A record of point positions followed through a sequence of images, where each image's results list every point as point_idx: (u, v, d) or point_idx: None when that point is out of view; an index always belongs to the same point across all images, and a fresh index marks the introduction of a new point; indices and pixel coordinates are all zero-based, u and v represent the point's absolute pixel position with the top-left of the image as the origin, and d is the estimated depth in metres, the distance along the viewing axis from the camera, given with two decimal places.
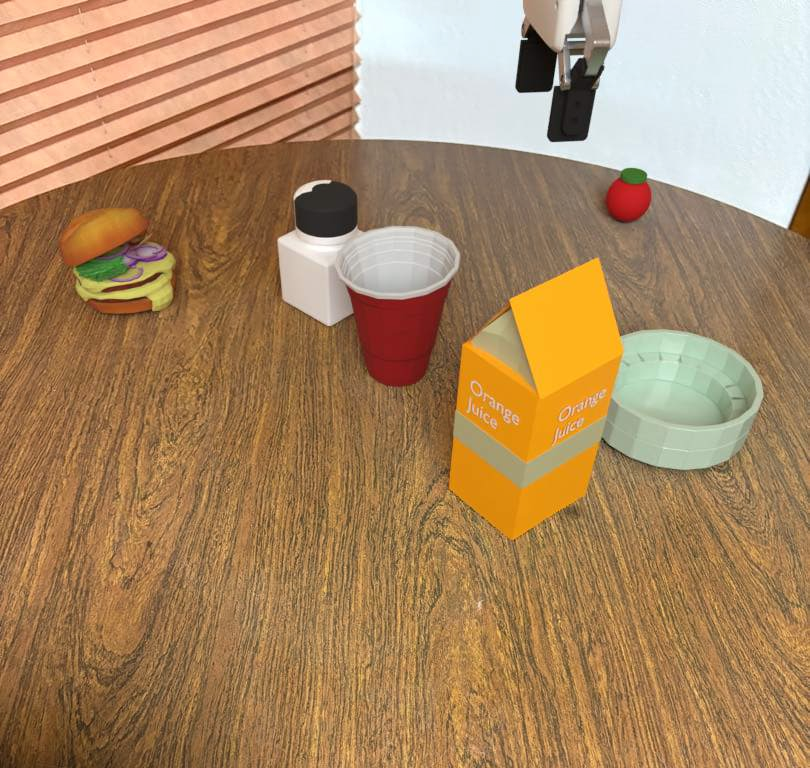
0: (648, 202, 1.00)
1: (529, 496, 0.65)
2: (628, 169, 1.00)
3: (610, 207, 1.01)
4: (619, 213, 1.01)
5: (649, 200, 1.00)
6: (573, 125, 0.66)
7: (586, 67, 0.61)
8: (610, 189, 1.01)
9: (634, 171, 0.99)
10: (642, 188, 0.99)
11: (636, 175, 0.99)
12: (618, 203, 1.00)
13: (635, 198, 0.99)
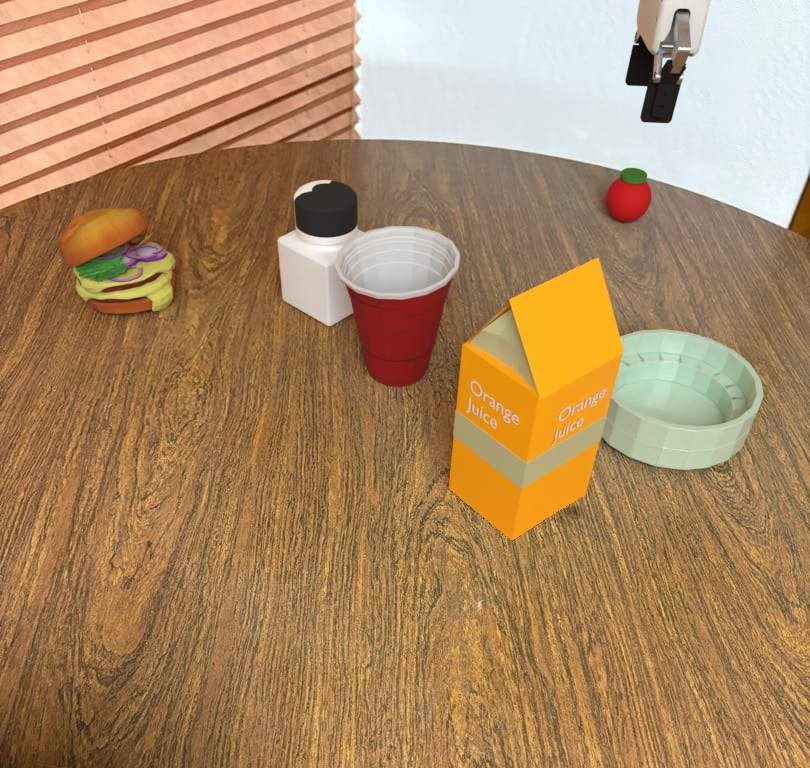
0: (648, 202, 1.00)
1: (529, 496, 0.65)
2: (628, 169, 1.00)
3: (610, 207, 1.01)
4: (619, 213, 1.01)
5: (649, 200, 1.00)
6: (660, 110, 0.88)
7: (672, 66, 0.83)
8: (610, 189, 1.01)
9: (634, 171, 0.99)
10: (642, 188, 0.99)
11: (636, 175, 0.99)
12: (618, 203, 1.00)
13: (635, 198, 0.99)
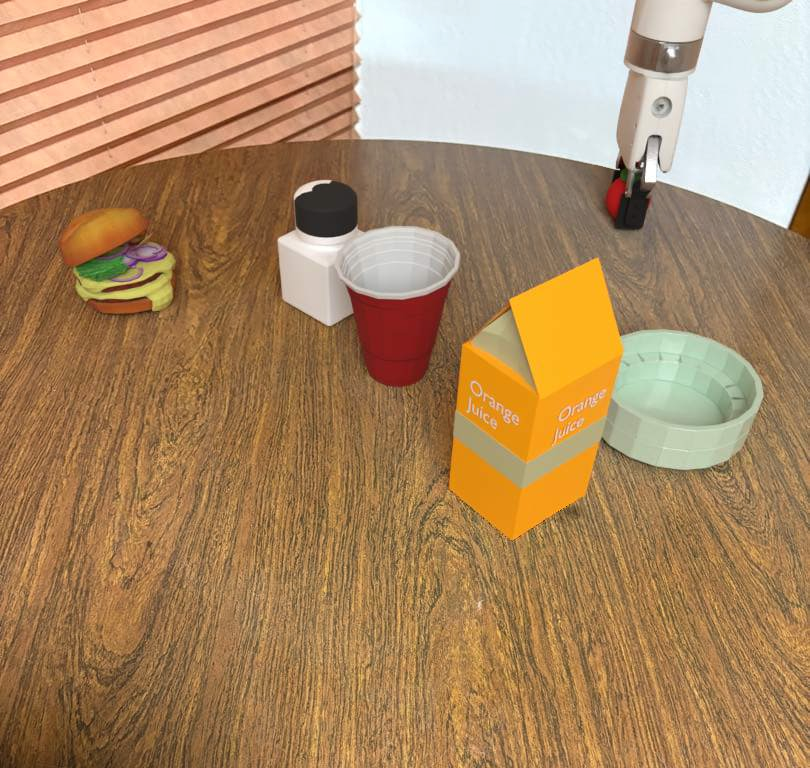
0: None
1: (529, 496, 0.65)
2: None
3: (610, 207, 1.01)
4: None
5: (649, 200, 1.00)
6: (632, 219, 0.99)
7: (640, 186, 0.94)
8: (610, 189, 1.01)
9: None
10: None
11: (636, 175, 0.99)
12: (618, 203, 1.00)
13: None
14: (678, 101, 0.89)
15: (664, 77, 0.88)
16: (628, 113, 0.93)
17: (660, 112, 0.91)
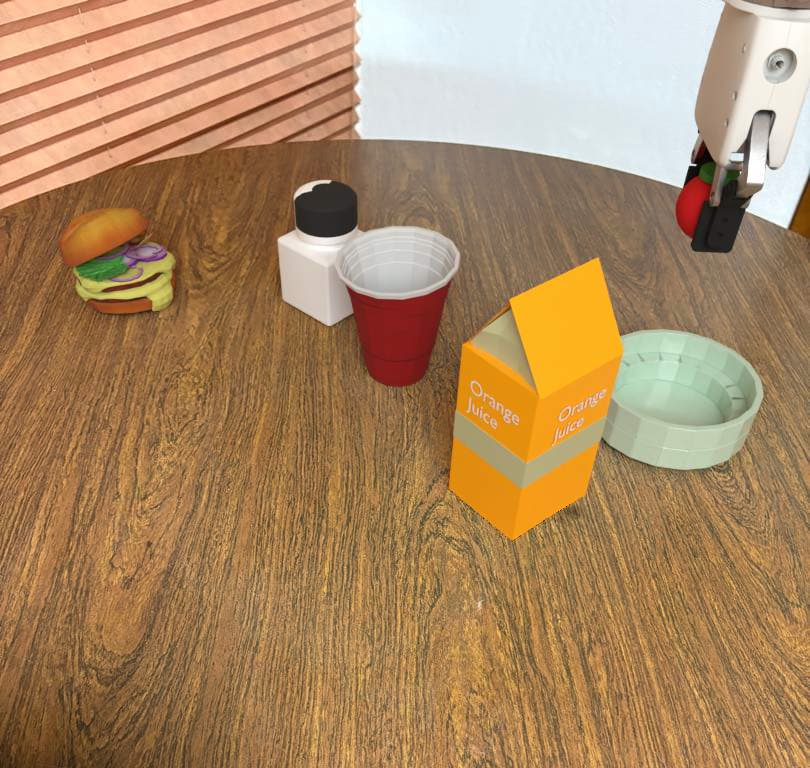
0: None
1: (529, 496, 0.65)
2: (711, 164, 0.67)
3: (682, 220, 0.68)
4: None
5: None
6: (718, 239, 0.67)
7: (737, 189, 0.62)
8: (683, 194, 0.68)
9: None
10: None
11: None
12: (695, 214, 0.67)
13: None
14: (807, 55, 0.56)
15: (786, 17, 0.56)
16: (721, 77, 0.60)
17: (775, 74, 0.58)
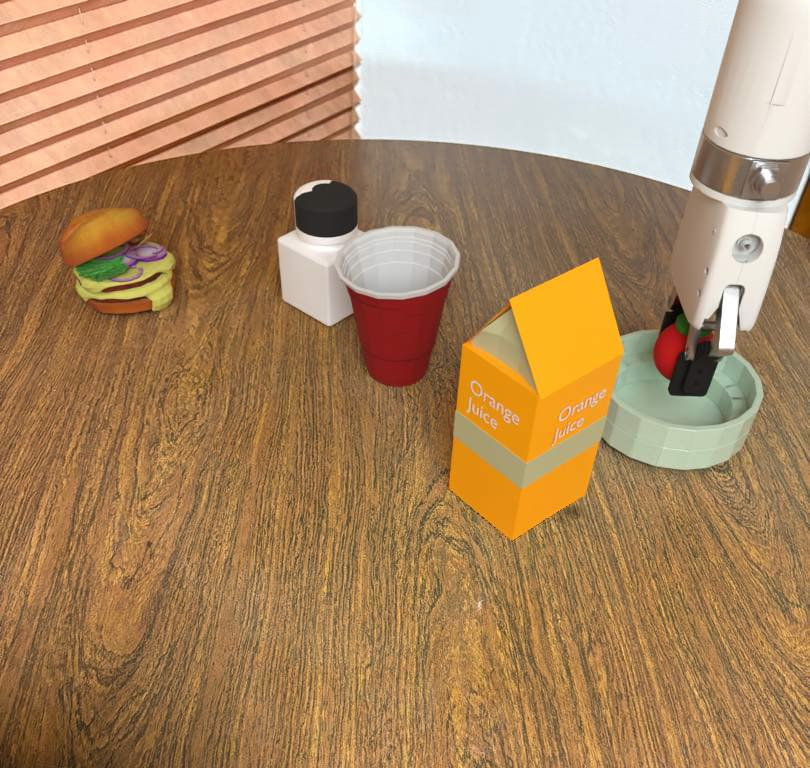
0: None
1: (529, 496, 0.65)
2: None
3: (660, 365, 0.72)
4: None
5: None
6: (693, 386, 0.70)
7: (710, 351, 0.66)
8: (660, 341, 0.72)
9: None
10: None
11: None
12: (672, 362, 0.71)
13: None
14: (773, 240, 0.60)
15: (753, 206, 0.59)
16: (694, 249, 0.64)
17: (743, 253, 0.62)
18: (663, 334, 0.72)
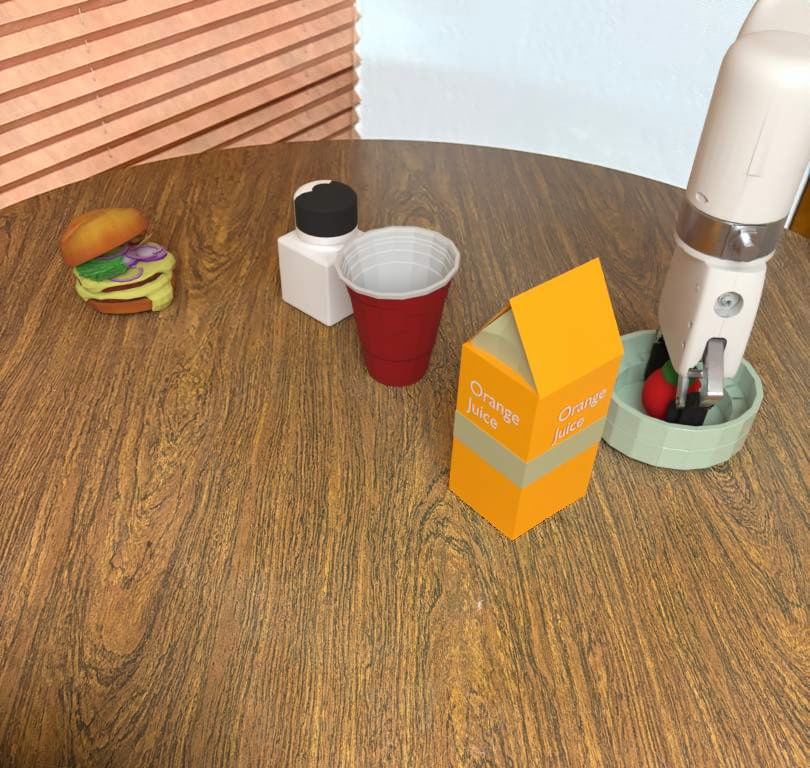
0: None
1: (529, 496, 0.65)
2: None
3: (647, 409, 0.75)
4: (659, 419, 0.75)
5: None
6: None
7: (699, 401, 0.68)
8: (647, 386, 0.75)
9: None
10: (692, 391, 0.73)
11: None
12: (658, 408, 0.74)
13: None
14: (752, 297, 0.63)
15: (733, 266, 0.63)
16: (679, 301, 0.68)
17: (725, 307, 0.65)
18: (650, 379, 0.75)
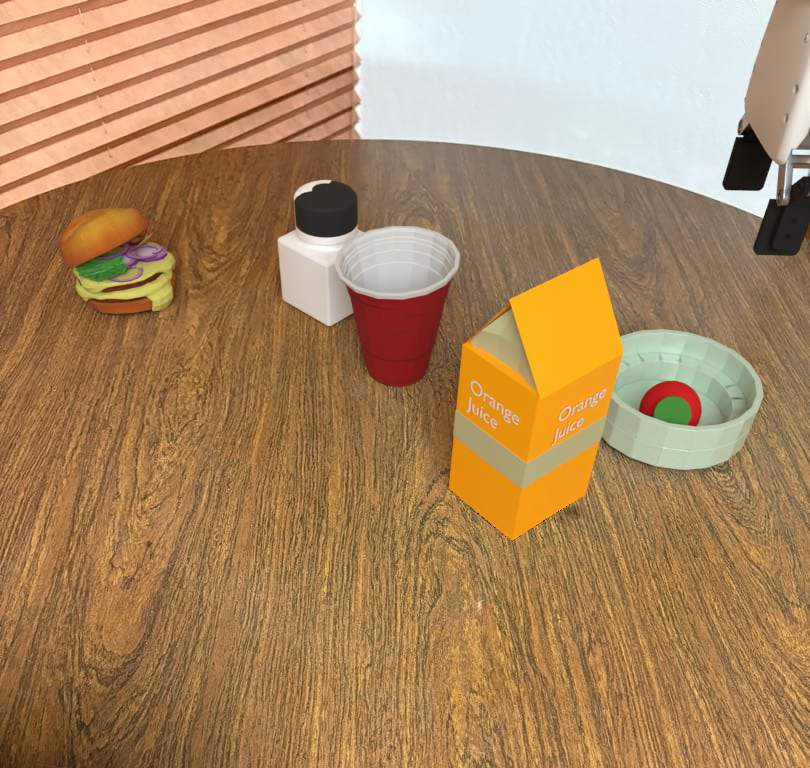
0: None
1: (529, 496, 0.65)
2: (665, 403, 0.71)
3: None
4: None
5: (696, 425, 0.73)
6: (785, 241, 0.61)
7: None
8: None
9: (673, 408, 0.71)
10: None
11: (674, 420, 0.71)
12: None
13: None
14: None
15: None
16: (779, 69, 0.57)
17: None
18: (644, 409, 0.73)
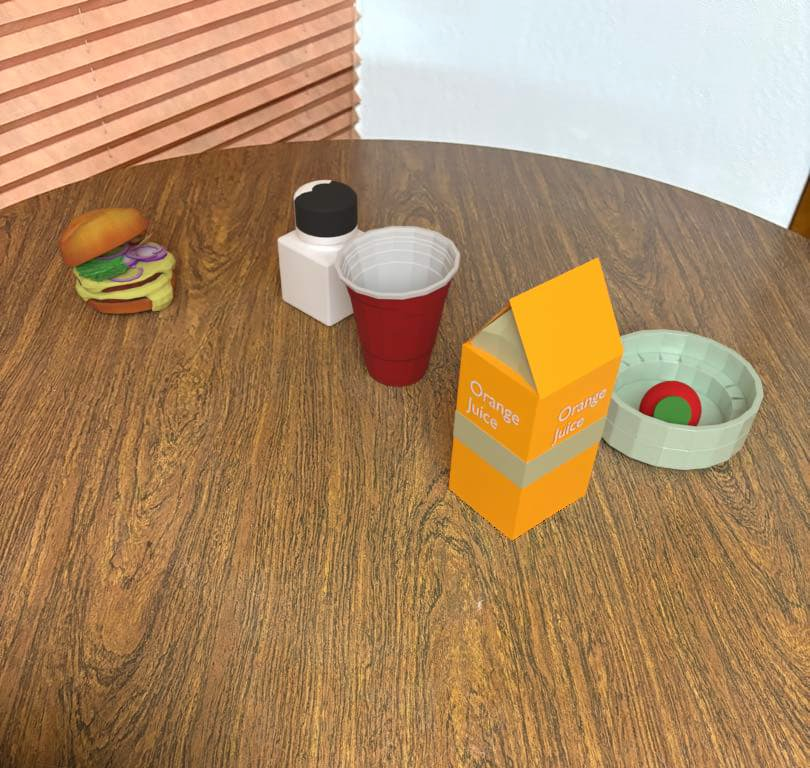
0: None
1: (529, 496, 0.65)
2: (665, 403, 0.71)
3: None
4: None
5: (696, 425, 0.73)
6: None
7: None
8: None
9: (673, 408, 0.71)
10: None
11: (674, 420, 0.71)
12: None
13: None
14: None
15: None
16: None
17: None
18: (644, 409, 0.73)
